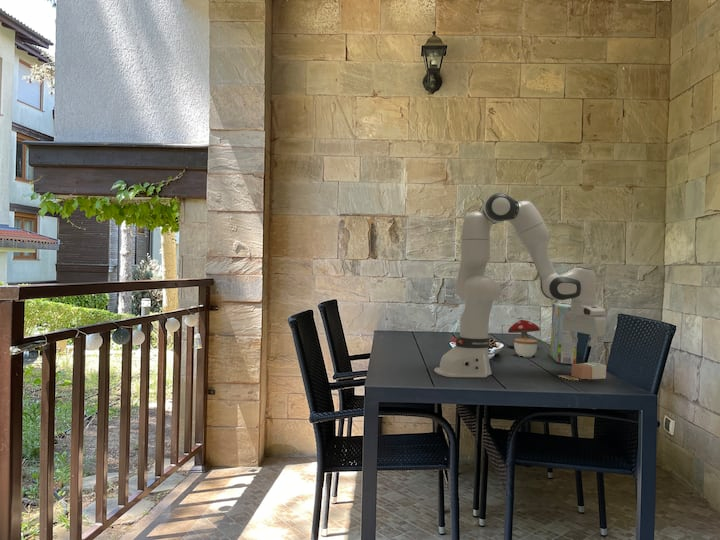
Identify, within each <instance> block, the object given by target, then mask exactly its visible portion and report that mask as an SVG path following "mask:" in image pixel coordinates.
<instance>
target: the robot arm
mask: <svg viewBox="0 0 720 540" xmlns="http://www.w3.org/2000/svg"><path fill="white" fill-rule="evenodd" d="M502 222H509V223H510V224H511V225H512V226H513V228H514V229H515V232H516V234H517V237H518V238H519V240H520V242H521V244H522V245H523V246H524V248H525V249H526V250H527V253H528V255H529V256H530V257H531V259H532V262H533V264H534V266H535V269H536V271H537V273H538V276H539V279H540V291H541V293H542V295H543V296H544V297H545V298H547V299H549V300H556V301H566V300H570V302H571V303H570V305H571V307H568V308H567V309H568V310H567V309H566V310H565V313H564V317H563V328H564V330H569V333H570V336H571V338H572V342H573V343H577V344H578V343H579V342H578V341H579V338H578V337H577V338H576V335H575V334H576V332H577V333H581V334H586V335H589V337H590V340H589V341H588V342H587V346H588V347H591V348H592V347H595V345H596V341H597V339H598V337H602V336H603V337H604V335H606V331H607V323H606V322H607V321H606V318H605V316H606V314H607V313H606V311H607V310H606V309H604V308H603V307H601V306H599V305H598V304H597V300H596V292H597V278H596V273H595V271H594V270H593V269H592V268H588V267H580V266H574V267H573V268H572V269H570V270H569V271H566V272H564V273H561V274H559V273H557V271H556V269H555V267H554V265H553V263H552V261H551V258H550V256H549V254H548V245H549V242H550V233H549V230H548V227H547V225H546V223H545V220H544V219H543V216H541V213H540V212H539V210H538V209H537V208H536V207H535V205H534V204H533V202H532V201H529V200H522V201H517V200H516V199H514V198H512V197H511V196H509V195H508V194H506V193H502V192H498V193H494V194H492V195H490V196H489V197H487V198H486V199H485V201H484V202H483V203H482V204H481V207H480V209H478V211H471V212H469V213H467V214H466V215H465V216H464V218H463V222H462V227H461V228H462V229H461V243H460V244H461V245H460V247H461V252H460V253H461V254H460V255H461V256H460V264H459V270H458V273H457V278H456V280H455V282H454V285H453V290H454V292H455V294H456V296H457V297H459V298H460V299H461V300H463V301H465V305H464V307H463V312H462V314H461V316H460V320H459V321H460V325H459V336H458V337H454V336H451V338H450V341H451V342H452V343H455V346H453V347H452V348H451V349H450V350H448V351H447V352H446V353H444V354H443V355H442V357H441V359H440V362H439V367H435V368H434V369H433V371H434V372H435V374H437V375H439V376H443V377H446V378H487V377H488V376H490V375H492V374H493V373H492V370H491V366H490V357H489V356H490V355H489V350H490V337H489V327H490V326H489V323H490V315H491V310H492V308H493V307H492V306H493V304H494V301H495V300H496V299H497V297H498V294H499V290H500V289H499V286H498V283H497V281H495V279H493V278H492V277H490V276H488V275H485V272H486V269H487V265H488V263H489V261H490V259H491V258H490V256H491V255H490V254H491V253H490V252H491V236H490V235H491V228H492V225H494V224H498V223H499V224H501V223H502Z"/></svg>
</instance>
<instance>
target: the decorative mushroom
mask: <svg viewBox="0 0 720 540" xmlns="http://www.w3.org/2000/svg"><path fill="white" fill-rule="evenodd" d="M539 331H541V328H540V327H539V326H538V325H537V324H535V323H534V322H532V321H530V320H526V319H520V320H518V321H516V322H515V323H513V324H512V325H511V326H510V327H509V328H508V331H507V333H509V334H518V333H519V334H521V339H525V337H527V339H530V337H529V334H528V333H530V332H531V333H532V332H539Z"/></svg>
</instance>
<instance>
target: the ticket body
mask: <svg viewBox="0 0 720 540" xmlns="http://www.w3.org/2000/svg"><path fill="white" fill-rule="evenodd" d="M580 364H584V365H587V366H591V379H590V380H601V379H603V380H605V379H606V378H607V365H605V364H601V363H599V362H582V363H580Z"/></svg>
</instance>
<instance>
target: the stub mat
mask: <svg viewBox="0 0 720 540" xmlns="http://www.w3.org/2000/svg"><path fill="white" fill-rule="evenodd" d="M558 376H559V377H558V378H560V377H562V378H561V379H563V378H565V379H564V380H566V379H568V380H567V381H569V380H571V381H580V380H579V379H578V378H575V377H572V376H571V375H568V374H564V375H563V374H560V375H558Z"/></svg>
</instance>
